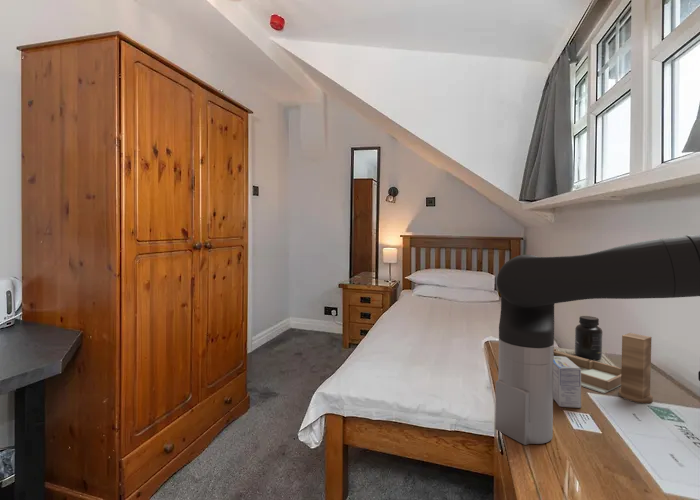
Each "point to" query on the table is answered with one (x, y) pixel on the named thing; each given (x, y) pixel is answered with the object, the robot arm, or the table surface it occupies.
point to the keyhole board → (595, 373)
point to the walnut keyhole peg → (636, 368)
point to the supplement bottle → (588, 338)
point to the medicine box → (566, 382)
